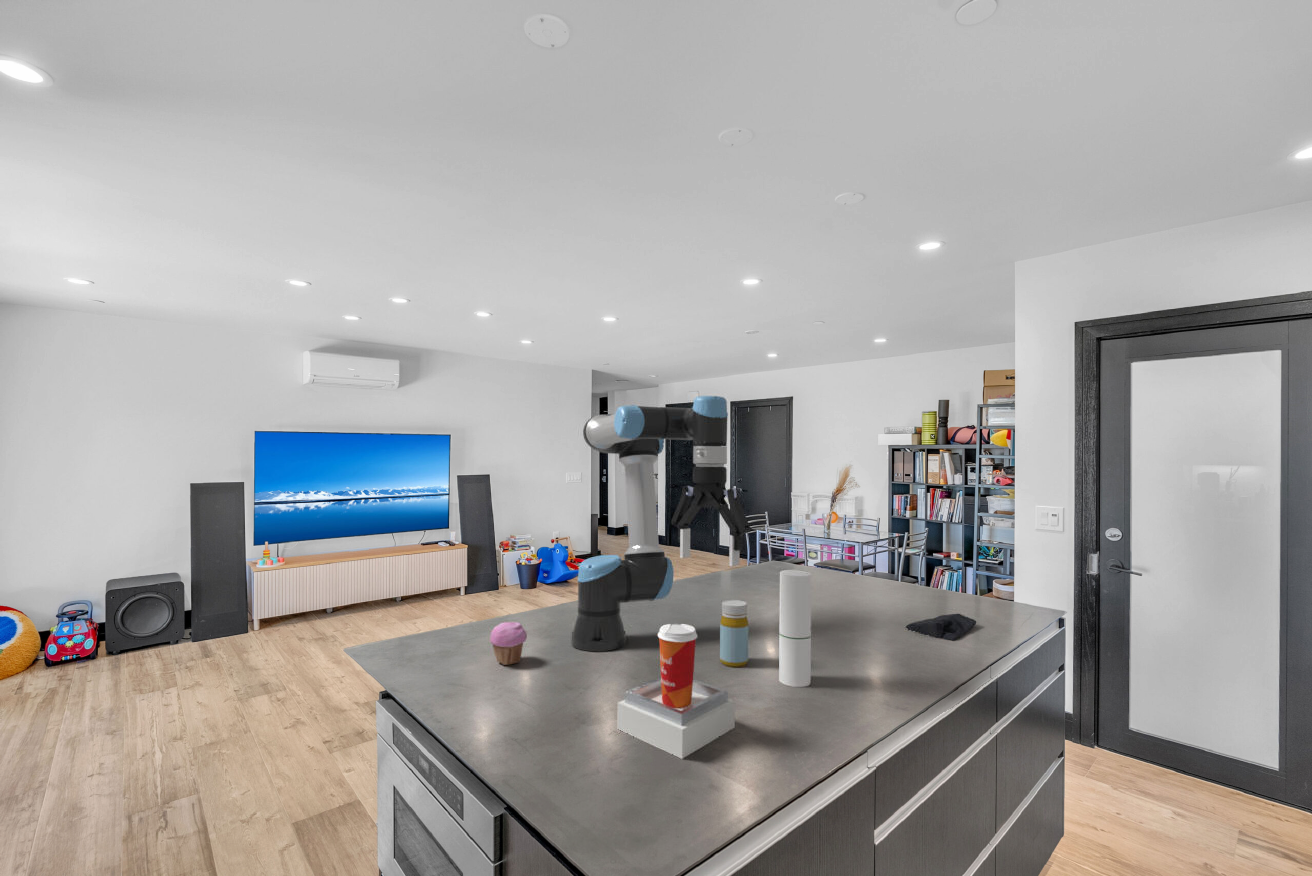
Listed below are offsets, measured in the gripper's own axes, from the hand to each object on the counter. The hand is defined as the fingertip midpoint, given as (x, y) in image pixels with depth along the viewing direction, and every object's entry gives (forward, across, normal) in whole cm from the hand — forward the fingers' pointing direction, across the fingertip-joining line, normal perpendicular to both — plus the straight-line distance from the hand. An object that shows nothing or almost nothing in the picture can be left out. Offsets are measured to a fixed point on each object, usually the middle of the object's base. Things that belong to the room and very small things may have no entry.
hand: (708, 561), depth 132 cm
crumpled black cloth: (+29, +24, +88) cm, 95 cm away
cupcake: (+29, -47, -20) cm, 59 cm away
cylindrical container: (+29, +11, +19) cm, 36 cm away
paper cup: (+24, +6, -18) cm, 31 cm away
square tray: (+29, +6, -18) cm, 34 cm away
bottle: (+29, -6, +19) cm, 35 cm away
